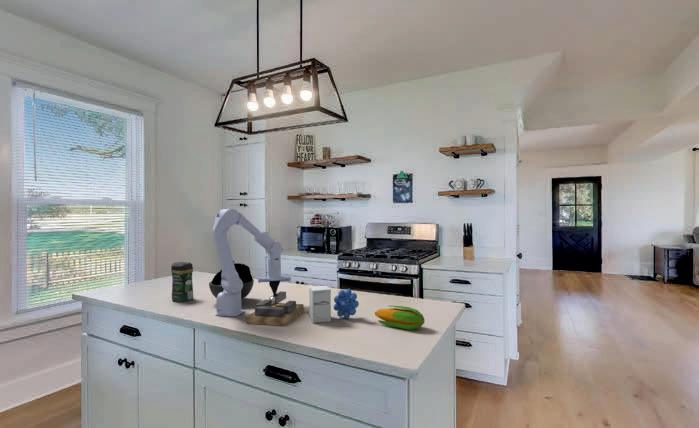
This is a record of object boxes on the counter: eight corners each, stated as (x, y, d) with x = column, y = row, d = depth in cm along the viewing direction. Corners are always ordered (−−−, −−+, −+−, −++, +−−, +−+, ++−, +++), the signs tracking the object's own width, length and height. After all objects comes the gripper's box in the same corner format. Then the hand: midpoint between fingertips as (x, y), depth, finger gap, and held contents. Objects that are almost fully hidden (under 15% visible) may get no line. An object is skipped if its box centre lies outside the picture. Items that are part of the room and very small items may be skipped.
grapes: (364, 317, 136) (363, 287, 136) (355, 322, 131) (355, 291, 131) (339, 313, 143) (339, 284, 142) (330, 318, 137) (330, 288, 137)
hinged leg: (274, 305, 147) (274, 298, 147) (268, 305, 147) (268, 297, 147) (286, 298, 159) (286, 291, 158) (280, 298, 159) (280, 291, 159)
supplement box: (312, 323, 130) (311, 290, 130) (309, 317, 138) (308, 286, 137) (331, 321, 132) (331, 289, 132) (327, 316, 140) (327, 285, 139)
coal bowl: (242, 309, 151) (241, 266, 151) (200, 307, 154) (199, 265, 154) (260, 297, 171) (260, 259, 171) (223, 296, 174) (222, 259, 174)
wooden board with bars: (246, 323, 132) (245, 308, 132) (269, 308, 152) (269, 295, 152) (284, 325, 129) (284, 311, 129) (303, 310, 148) (303, 297, 148)
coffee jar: (168, 300, 167) (167, 262, 167) (182, 296, 174) (181, 260, 174) (183, 302, 163) (182, 263, 163) (196, 298, 170) (195, 261, 170)
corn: (420, 311, 118) (369, 303, 129) (419, 334, 118) (368, 324, 129) (427, 307, 124) (378, 300, 135) (427, 329, 124) (378, 320, 135)
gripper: (256, 270, 151) (257, 300, 152) (290, 268, 153) (290, 298, 154) (258, 267, 158) (259, 296, 159) (290, 266, 160) (291, 295, 161)
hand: (275, 297), depth 157 cm, fingers closed
